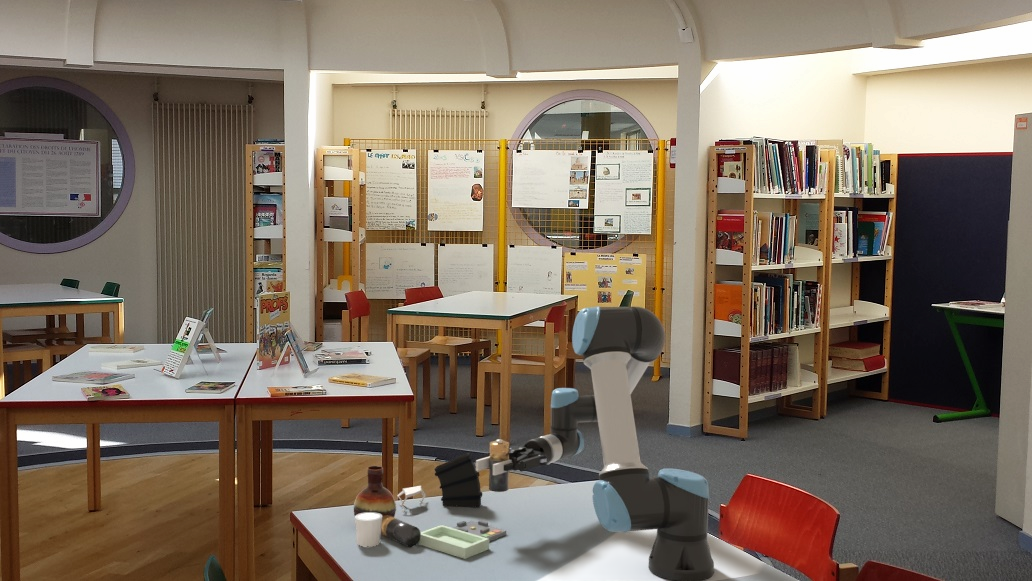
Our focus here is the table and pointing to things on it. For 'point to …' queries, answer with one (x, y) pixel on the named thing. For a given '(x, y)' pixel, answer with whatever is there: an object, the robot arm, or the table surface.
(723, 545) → the table surface
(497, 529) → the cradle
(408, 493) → the white legged piece
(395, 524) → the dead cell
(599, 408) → the robot arm
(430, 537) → the trough
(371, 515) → the white cup
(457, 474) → the magazine
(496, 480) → the cell
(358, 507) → the vase
